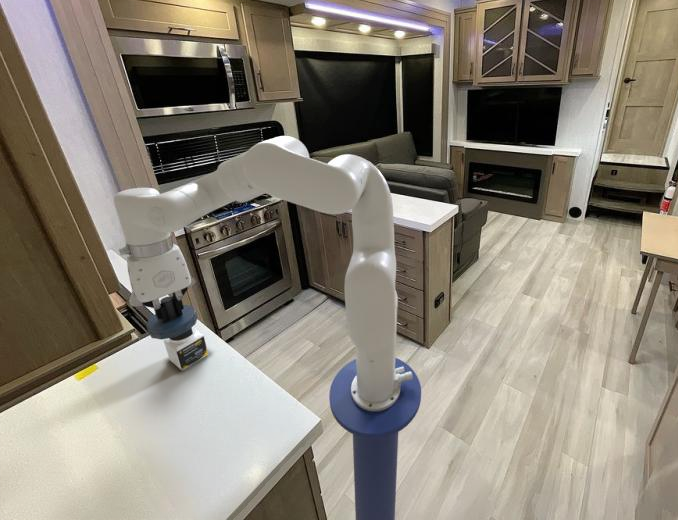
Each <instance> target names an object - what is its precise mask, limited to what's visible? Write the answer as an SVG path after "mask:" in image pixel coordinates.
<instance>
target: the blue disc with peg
mask: <svg viewBox="0 0 678 520" xmlns="http://www.w3.org/2000/svg"><path fill="white" fill-rule="evenodd" d="M159 302H160V303H161V305H162V306H163V307H164V309H165V313H166V316H167V320H168V321H167V322H165V323H164V322H163V321H162V319H159V320H158V319H157V317H156V314H155V313H154V314H153V315H152V316H151V317H149V319H148V320H147V322H146V330H147V333H148V335H149V336H150V338H151V339H157V340H165V339H167V338H172V337H176V336H178V335H180V334H183V333H185V332H187V331H188V330H189V329H191V328H192V327H193V326H195V325H196V324H197V321H198V318H199V317H198V314H197V311H196V309H195V308H194V307H193V306H192V305H188V304H183V307H184V309H183V310H182V314H183V315H181V316H179V315H178V314H177V311H176V307H175V303H174V300H173V297H172V296H171V295H170V296H168V295H167V296H164V297H162V298H160V299H159Z"/></svg>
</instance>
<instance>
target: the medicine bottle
mask: <svg viewBox="0 0 678 520" xmlns="http://www.w3.org/2000/svg"><path fill="white" fill-rule="evenodd" d="M163 343H164V346H165V349H166V353H167V357H168V359H169V361H170V362H171V363H172V364H174V365H175V366H176V367H177V368H178V369H179V370H181V371H184V370H186V369H188V368H189V367H191V366H192V365H194V364H195V363H197V362H199V361H200V360H202V359H203V358H205V357H206V356H208V355H209V352H208V348H207V343H206V339H205V335H204V334H203V333H201V332H200V331H198V330H197V329H196V326H195V325H194V326H193V327H192V328H191V329H189V330H188V331H187V332H185V333H183V334H180V335H178V336H176V337H172V338H167V339H163Z"/></svg>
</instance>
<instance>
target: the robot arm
mask: <svg viewBox="0 0 678 520" xmlns="http://www.w3.org/2000/svg"><path fill="white" fill-rule="evenodd" d="M265 194H266V195H268V196H272V197H273V198H277V199H279V200H283V201H286V202H289V203H291V204H294V205H298V206H301V207H304V208H307V209H310V210H312V211H316V212H318V213H319V212H320V213H323V214H327V215H341V214H345V213H348V212H349V211H351V229H352V242H353V243H352V247H353V249H352V254H351V258H350V261H349V263H348V266H347V269H346V273H345V277H344V287H343V289H344V305H345V315H346V328H347V333H348V336H349V339H350V341H351V342H352V344H353V345H354V346H355V353H356V355H355V357H356V358H355V359H356V364H357V375H356V376H355V378H354V379H353V382H352V384H351V395H352V398H353V400H354V402H355V403H356V404H357V405H358V406H359V407H361V408H362V409H365V410H368V411H382V410H385V409H387V408H389V407H390V406H392V405H393V404H394V403H395V402H396V401H397V399H398V397H399V395H400V384H401V383H402V382H403V381H408V380H411V379H413V376H412V372H411V371H410V372H406V373H404V374H401V375H400V374H399V373H402V372H404V371H405V370H404V367H399V368H396V369H395V358H396V347H397V345H396V344H397V328H398V327H397V326H398V325H397V324H398V305H399V297H398V293H397V290H396V277H397V258H396V248H395V225H394V223H395V221H394V207H393V206H394V205H393V198H392V197H393V196H392V193H391V190H390V187H389V184H388V182H387V180H386V178H385V176H384V175H383V174H382V172H381V171H380V169H378V168H377V166H375V164H373V163H372V162H370V161H369V160H367V159H365V158H364V157H361V156H358V155H356V154H349V153H347V154H341V155H338V156H336V157H334V158H332V159H331V160H330V161H328V162H327V163H326V162H323V161H320V160H317V159H314V158H311V157H310V153H309V151H308V148H307V147H306V145H305V144H304V143H303V142H302V141H301V140H299V139H297V138H296V137H293V136H290V135H280V136H275V137H273V138H269V139H266V140H263V141H260V142H257V143H255V144H254V145H253V146H251V147H250V148H249V149H248V150H246V151H245V152H242V153H240V154H238V155H235V156H233V157H231V158H229V159H227V160H225V161H223V162H221V163H220V164H219V165H218V166H217V169H216V170H215V171H213V172H210V173H208V174H206V175H204V176H202V177H200V178H197V179H195V180H192V181H191V182H188V183H186V184H184V185H181V186H178V187H176V188H175V187H174V188H172V189H170V190H168V191H165V192H162V193H160V192H159V190H158V189H155V188H153V187H134V188H128V189H124V190H121V191H119V192H117V193H116V194H115V195H114V197H113V205H114V207H115V211H116V214H117V217H118V220H119V224H120V227H121V230H122V233H123V236H124V239H125V245H124V247H122V248H119V249H118V252H119V254H120V256H124V255H127V257H126V265H127V266H126V267H127V273H128V278H129V283H130V287H131V294H130V297H129V301H128V304H129V306H131V307H142V306H143V307H147V308H150V309H153V310H154V314H156V317H157V319H158V320H159V319H162V321H163V322H164V323H165V322H167V321H168V320H167V316H166V313H165V309H164V307H163V306H162V305H161V302H160V299H161V298H164V297H167V296H168V295H170V294H171V295H172V296H171V297H173V300H174V303H175V307H176V311H177V314H178V315H179V316H181V315H183V314H182V310H183V309H184V307H183V305H184V303H183V299H184V296H185V294H186V293H187V291H188V289H189V288H191V287H192V286H193V285H195V284H196V282H197V281H196V279H195V278H193V276H191V273H190V270H189V268H188V267H189V266H188V265H187V261H186V260H185V257H184V255H183V253H182V250H181V248H180V247H179V246H178V245H177V244H175V243H174V242H173V237H172V234H171V233H174V232H177V231H180V230H182V229H183V228H186V227H187V226H189V225H191V224H192V223H194V222H196V221H198V220H199V219H201V218H203V217H204V216H206V215H208V214H210V213H211V212H214V211H217V210H218V209H220V208H223V207H225V206H226V205H229V204H232V203H234V202H238V203H246V202H249V201H252V200H254V199H256V198H258V197H260V196H263V195H265ZM397 373H398V374H397Z"/></svg>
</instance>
